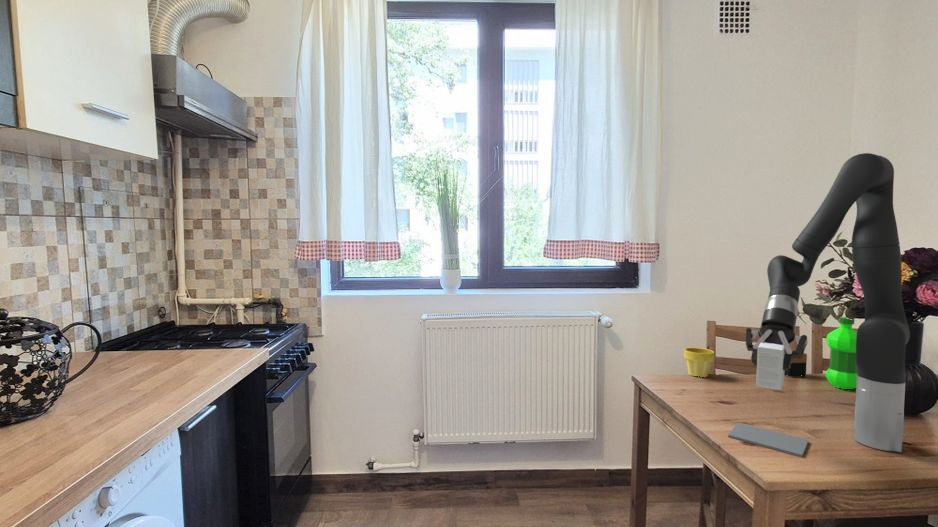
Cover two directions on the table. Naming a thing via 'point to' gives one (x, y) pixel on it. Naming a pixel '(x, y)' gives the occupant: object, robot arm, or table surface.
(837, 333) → the plastic bottle
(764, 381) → the small box
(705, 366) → the plant pot
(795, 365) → the battery
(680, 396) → the table surface
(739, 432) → the mat
